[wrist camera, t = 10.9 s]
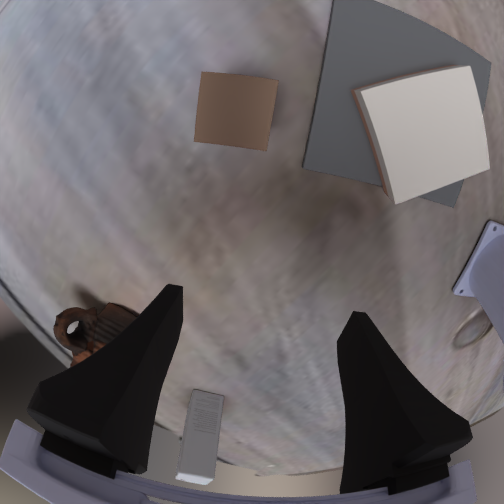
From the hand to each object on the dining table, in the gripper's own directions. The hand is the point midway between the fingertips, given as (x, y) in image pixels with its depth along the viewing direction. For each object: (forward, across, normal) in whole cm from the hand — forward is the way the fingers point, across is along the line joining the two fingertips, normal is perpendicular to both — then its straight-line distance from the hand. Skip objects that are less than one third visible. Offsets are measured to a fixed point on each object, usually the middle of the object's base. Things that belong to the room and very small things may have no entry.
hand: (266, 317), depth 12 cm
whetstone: (+8, -10, -6) cm, 14 cm away
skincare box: (+9, +3, +28) cm, 30 cm away
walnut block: (+9, +3, -7) cm, 12 cm away
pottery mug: (+10, +14, +15) cm, 23 cm away
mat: (+9, -7, -10) cm, 15 cm away
